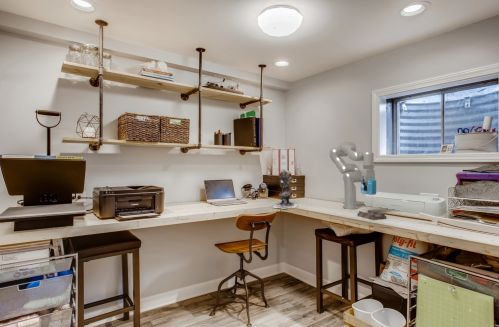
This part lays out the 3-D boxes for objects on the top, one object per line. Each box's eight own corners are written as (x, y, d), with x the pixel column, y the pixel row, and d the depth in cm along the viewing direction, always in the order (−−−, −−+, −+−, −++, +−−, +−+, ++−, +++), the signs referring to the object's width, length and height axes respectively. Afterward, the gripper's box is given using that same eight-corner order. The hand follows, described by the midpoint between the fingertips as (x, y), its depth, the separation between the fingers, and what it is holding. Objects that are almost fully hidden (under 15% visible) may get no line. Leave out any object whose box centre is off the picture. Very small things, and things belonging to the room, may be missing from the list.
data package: (360, 193, 235) (360, 178, 235) (364, 192, 237) (364, 178, 237) (371, 195, 224) (372, 179, 224) (376, 194, 226) (376, 179, 225)
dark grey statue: (267, 207, 259) (268, 168, 262) (277, 206, 282) (279, 170, 284) (290, 209, 249) (291, 169, 251) (299, 208, 271) (300, 170, 274)
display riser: (357, 216, 218) (357, 211, 218) (370, 214, 222) (370, 210, 222) (372, 220, 203) (372, 215, 203) (386, 218, 207) (386, 213, 207)
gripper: (373, 167, 236) (373, 189, 237) (356, 167, 231) (356, 190, 231) (380, 167, 229) (380, 190, 230) (362, 168, 223) (362, 191, 224)
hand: (368, 190), depth 231 cm, fingers closed on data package, 4 cm apart
